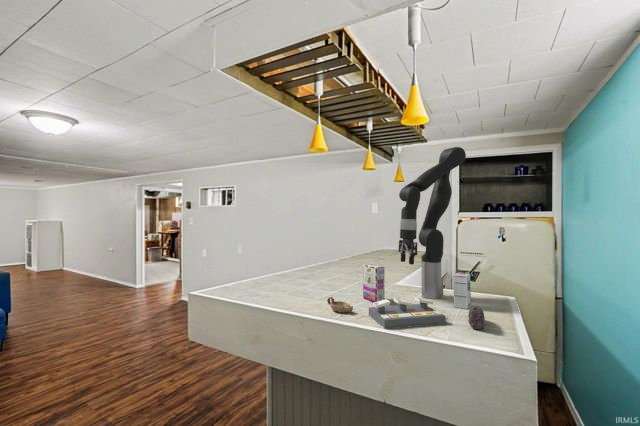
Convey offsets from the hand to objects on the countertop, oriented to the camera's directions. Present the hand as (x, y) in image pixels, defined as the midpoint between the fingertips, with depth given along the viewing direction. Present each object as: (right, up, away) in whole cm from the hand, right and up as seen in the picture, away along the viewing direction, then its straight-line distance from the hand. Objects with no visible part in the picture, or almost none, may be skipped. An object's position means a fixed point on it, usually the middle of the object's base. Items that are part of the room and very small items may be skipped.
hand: (407, 262), depth 152 cm
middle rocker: (-9, -11, -26) cm, 30 cm away
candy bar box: (-16, -18, -1) cm, 24 cm away
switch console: (-8, -17, -28) cm, 34 cm away
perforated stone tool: (+16, -18, -35) cm, 42 cm away
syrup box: (+21, -18, -12) cm, 30 cm away
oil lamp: (-33, -18, -17) cm, 41 cm away
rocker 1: (-18, -11, -28) cm, 35 cm away
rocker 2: (0, -11, -24) cm, 27 cm away
